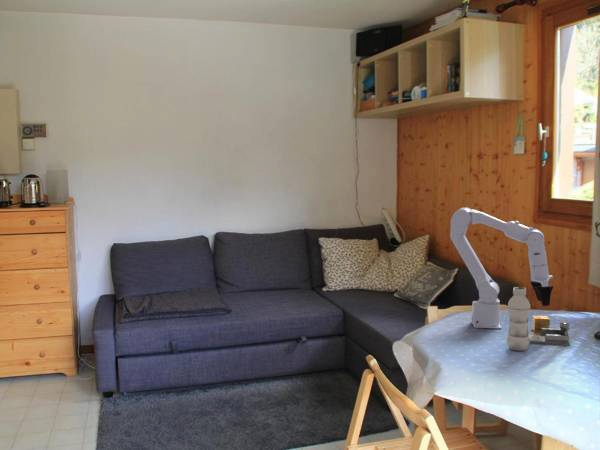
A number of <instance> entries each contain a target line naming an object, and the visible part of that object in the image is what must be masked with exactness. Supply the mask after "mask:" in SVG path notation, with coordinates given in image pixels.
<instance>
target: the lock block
mask: <svg viewBox="0 0 600 450" xmlns="http://www.w3.org/2000/svg"><path fill="white" fill-rule="evenodd" d="M550 324H551V322H550V318H549V316H548V315H532V332H541V328H550V327H551V326H550Z"/></svg>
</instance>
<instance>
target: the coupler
mask: <svg viewBox="0 0 600 450" xmlns="http://www.w3.org/2000/svg"><path fill="white" fill-rule="evenodd" d="M569 331H570V322H568V321H560V322H559V328H550V327H549V328H541V332H534V331H528V336H529V341H530V344H536V345H537V344H539V345H541V344H542V345H559V346H561V345H563V346H570V345H571V343H570V336H569Z"/></svg>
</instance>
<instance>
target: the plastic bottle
mask: <svg viewBox="0 0 600 450" xmlns="http://www.w3.org/2000/svg"><path fill="white" fill-rule="evenodd" d="M512 294H513V295H512V297H510V299H509V300H508V303H507V308H508V317H509V322H508V323H509V328H508V334H507V337H506V338H507V339H506V343H507V346H508V348H509V349H510V350H513V351H517V352H518V351H519V352H521V351H523V352H524V351H527V350H528V349H529V347H530V344H531V343H530V341H529V336H528V332H529V315H530V311H531V304H530V303H531V302H530V301H529V299H528V298H527V297H526V295H527V288H526V287H523V286H514V287H513V290H512Z"/></svg>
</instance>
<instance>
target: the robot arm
mask: <svg viewBox="0 0 600 450" xmlns="http://www.w3.org/2000/svg"><path fill="white" fill-rule="evenodd" d="M478 224H483V225H485V226H487V227H491V228H494V229H496V230H498V231H502V232H503V234H504V236H505V237H507V238H509V239H513V240H515V241H518V242H520V243H523V244H524V243H525V244H526V245H527V247H528V248H527V249H528V252H527V255H528V261H529V262H528V263H529V269H530V281H529V283H530V285H531V287H532V288H533V292H534V293H535V296H536V298H537V301H538V302H541V306H542V307H547V306H550V305H551V304H550V303H551V295H552V291H553V289H554V285H553V284H550V285H549V281H550V279H554V276H553V275H552V274H551V275H550V273H549V266H548V258H547V251H546V245H545V235H544V233H543V232H542V231H541V230H539V229H538V228H533V227H532V226H529V227H528V226H525V225H524V224H521V223H520V221H518V220H515V221H513V220H511V221H507V222H506V221H503V220H501V219H500V218H499V219H498V218H496V217H494V216H492V215H490V214H488V213H485V212H482V211H479V210H477V209H473V208H472V209H471V208H470V207H466V206H465V207H464V206H463V207H461V208H459V209H457V210H456V211H455V212H454V213H453V215H452V217H451V219H450V233H449V238H450V240H451V241H452V243H453V245H454V247H455V249H456V250H457V252H458V254H459V255H460V257H461V259H462V261H463V262H464V264H465V266H466V267H467V269H468V271H469V273H470V274H471V277H472V278H473V279H474V282H475V286H476V288H477V290H478V297H479V298H478V300H473V301H472V306H471V311H472V312H471V323H472V326H473V328H477V329H500V330H501V329H502V325H501V324H500V305H501V304H500V302H501V301H500V299H499V298H498V295H499V294H500V286H499V284H498V283H497V282H495V281H494V280H493V279H492V277H491V276H490V275H489V273H487V271H486V270H485V267H484V266H483V264H482V263H481V261H480V259H479V257H478V255H477V254H476V252H475V251H474V248H473V246H472V245H471V243H470V242H469V240H468V238H467V236H466V234H467V231H468V227H469V226H470V225H478Z"/></svg>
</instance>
